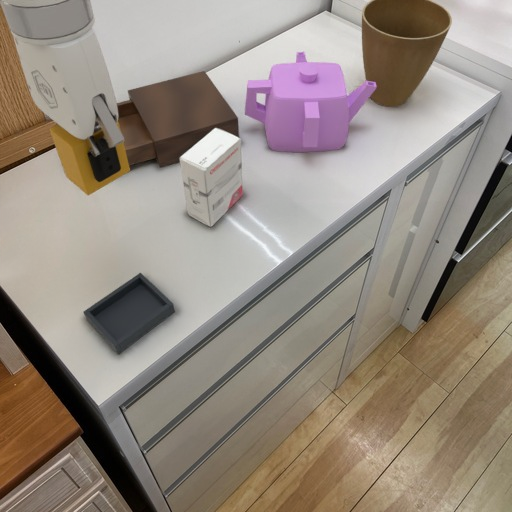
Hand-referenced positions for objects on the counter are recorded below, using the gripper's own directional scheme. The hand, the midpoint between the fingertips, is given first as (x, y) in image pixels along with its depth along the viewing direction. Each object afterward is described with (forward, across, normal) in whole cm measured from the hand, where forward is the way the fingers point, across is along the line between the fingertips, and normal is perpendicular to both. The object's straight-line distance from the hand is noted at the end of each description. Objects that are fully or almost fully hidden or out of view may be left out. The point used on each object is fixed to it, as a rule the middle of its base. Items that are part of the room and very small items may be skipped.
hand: (94, 163), depth 62 cm
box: (+2, 0, 0) cm, 2 cm away
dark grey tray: (+19, +8, -5) cm, 21 cm away
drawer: (+18, -22, +14) cm, 32 cm away
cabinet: (+19, -18, +26) cm, 37 cm away
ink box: (+19, 0, +17) cm, 26 cm away
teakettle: (+19, -2, +42) cm, 46 cm away
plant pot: (+19, +3, +60) cm, 63 cm away
